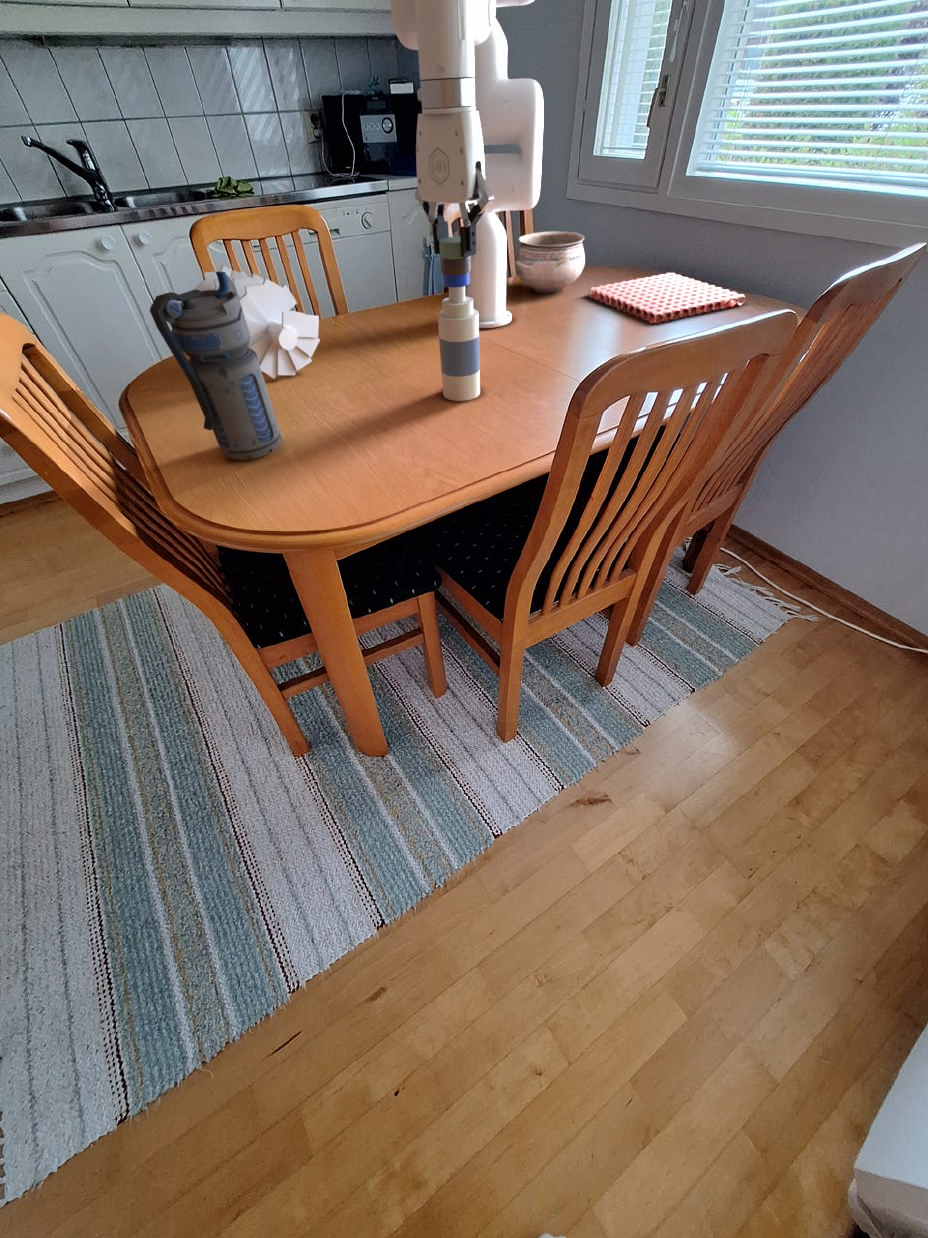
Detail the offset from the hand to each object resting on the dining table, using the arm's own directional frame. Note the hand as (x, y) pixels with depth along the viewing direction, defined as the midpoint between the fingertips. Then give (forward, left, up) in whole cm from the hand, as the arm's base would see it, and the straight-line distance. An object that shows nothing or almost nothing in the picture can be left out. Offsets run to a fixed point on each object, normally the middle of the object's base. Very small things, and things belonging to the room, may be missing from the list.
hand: (455, 252), depth 86 cm
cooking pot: (-54, +48, -23) cm, 76 cm away
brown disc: (0, 0, -3) cm, 3 cm away
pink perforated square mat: (-30, +69, -23) cm, 79 cm away
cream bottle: (0, 0, -23) cm, 23 cm away
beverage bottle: (+5, -41, -23) cm, 47 cm away
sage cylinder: (0, 0, 0) cm, 0 cm away
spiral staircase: (-34, -33, -23) cm, 53 cm away
